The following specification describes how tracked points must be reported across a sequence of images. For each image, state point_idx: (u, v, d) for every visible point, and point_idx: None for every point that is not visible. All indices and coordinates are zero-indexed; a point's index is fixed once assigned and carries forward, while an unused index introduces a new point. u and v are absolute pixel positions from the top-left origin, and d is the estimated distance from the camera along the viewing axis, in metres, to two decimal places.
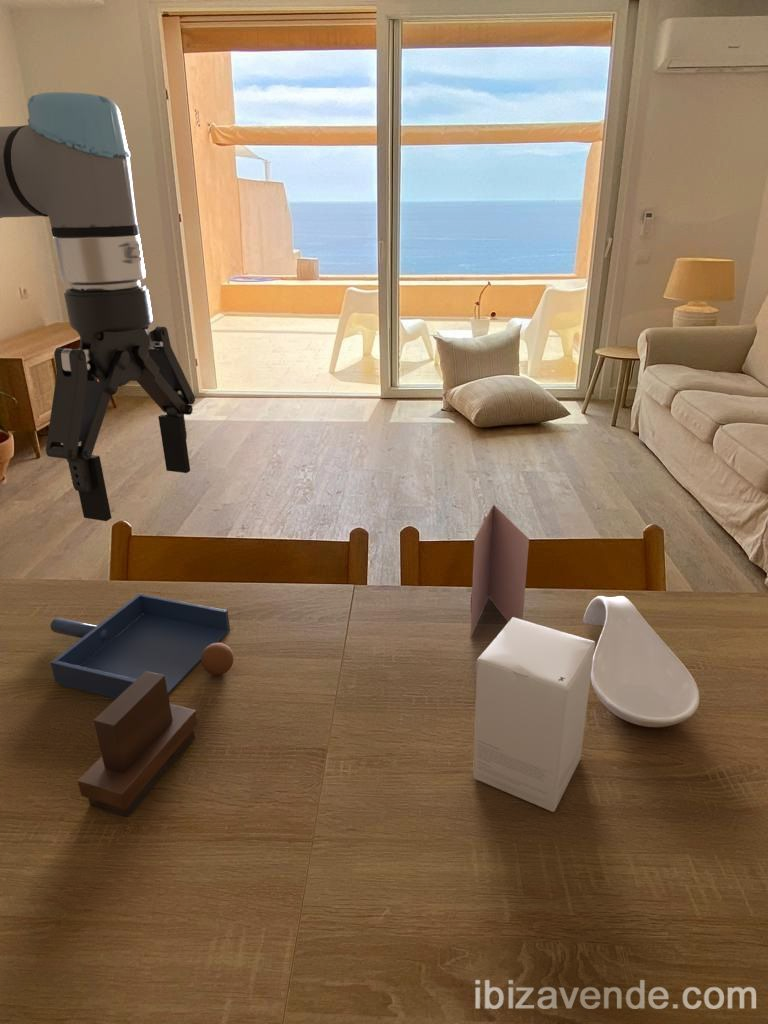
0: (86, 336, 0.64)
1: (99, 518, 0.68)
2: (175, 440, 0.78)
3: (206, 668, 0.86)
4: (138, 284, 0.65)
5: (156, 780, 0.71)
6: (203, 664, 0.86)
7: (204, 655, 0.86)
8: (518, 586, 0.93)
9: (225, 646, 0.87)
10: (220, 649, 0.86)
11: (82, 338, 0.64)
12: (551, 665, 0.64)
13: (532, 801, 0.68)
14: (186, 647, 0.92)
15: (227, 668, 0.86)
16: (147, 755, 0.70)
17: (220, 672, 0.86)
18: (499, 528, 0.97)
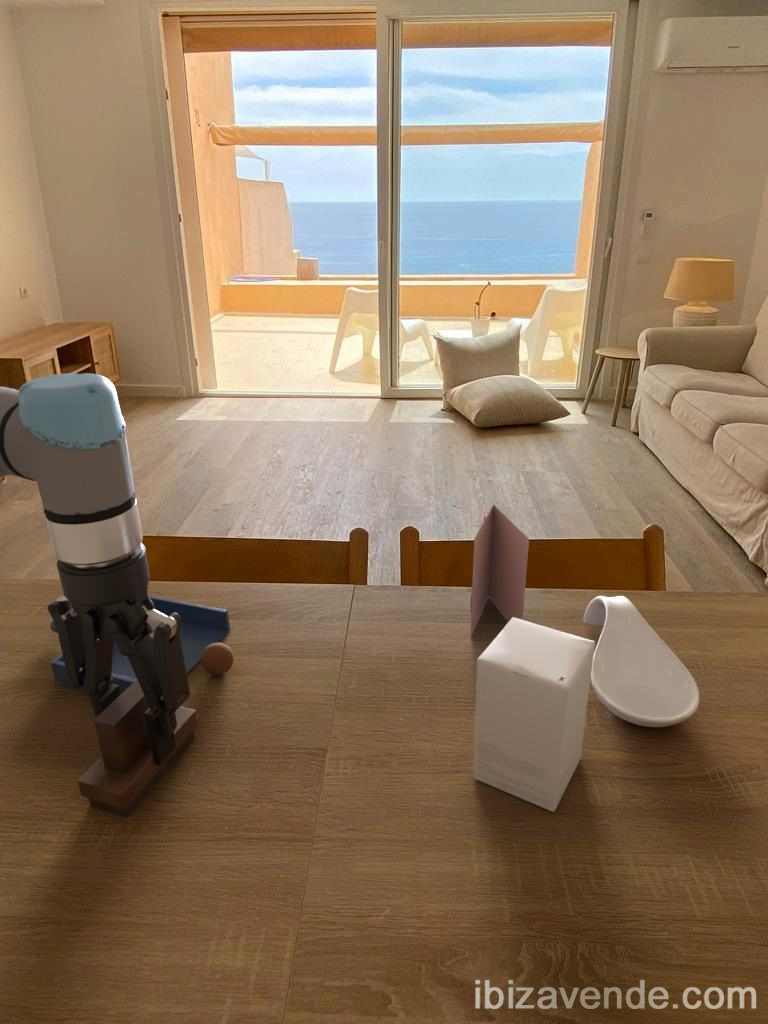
0: (142, 596, 0.63)
1: (171, 751, 0.71)
2: None
3: (206, 668, 0.86)
4: None
5: (156, 780, 0.71)
6: (203, 664, 0.86)
7: (204, 655, 0.86)
8: (518, 586, 0.93)
9: (225, 646, 0.87)
10: (220, 649, 0.86)
11: (139, 601, 0.63)
12: (551, 665, 0.64)
13: (532, 801, 0.68)
14: (186, 647, 0.92)
15: (227, 668, 0.86)
16: (147, 755, 0.70)
17: (220, 672, 0.86)
18: (499, 528, 0.97)
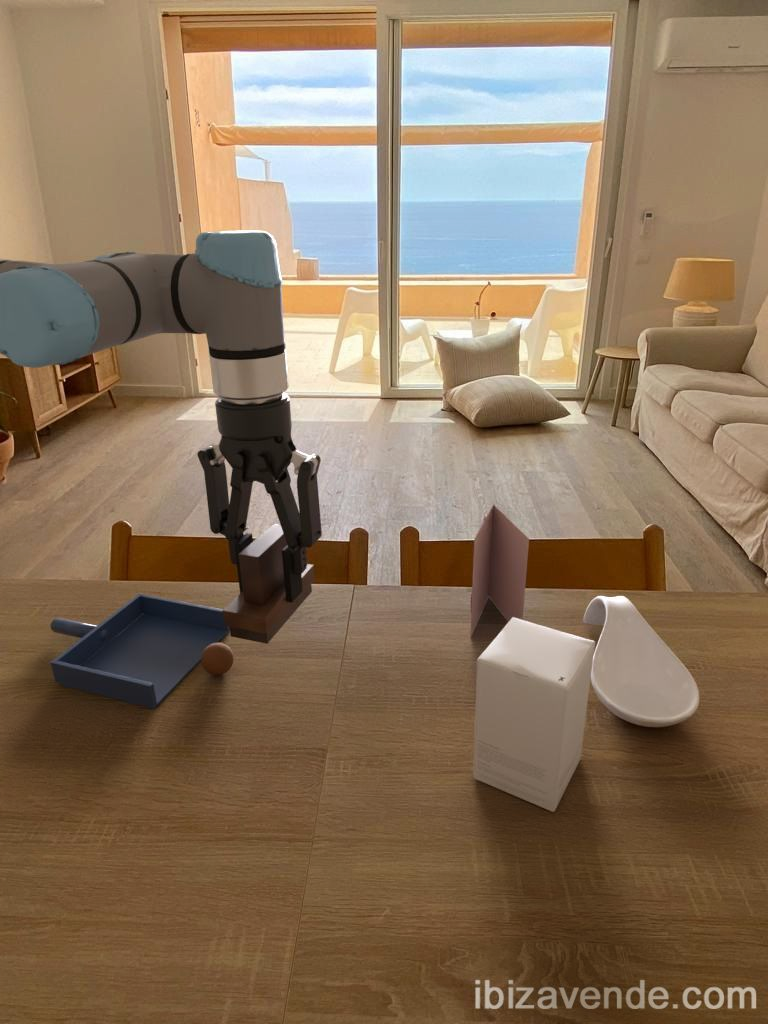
0: (288, 436, 0.71)
1: (299, 592, 0.79)
2: None
3: (206, 668, 0.86)
4: None
5: (286, 618, 0.79)
6: (203, 664, 0.86)
7: (204, 655, 0.86)
8: (518, 586, 0.93)
9: (225, 646, 0.87)
10: (220, 649, 0.86)
11: (286, 440, 0.71)
12: (551, 665, 0.64)
13: (532, 801, 0.68)
14: (186, 647, 0.92)
15: (227, 668, 0.86)
16: (280, 594, 0.78)
17: (220, 672, 0.86)
18: (499, 528, 0.97)
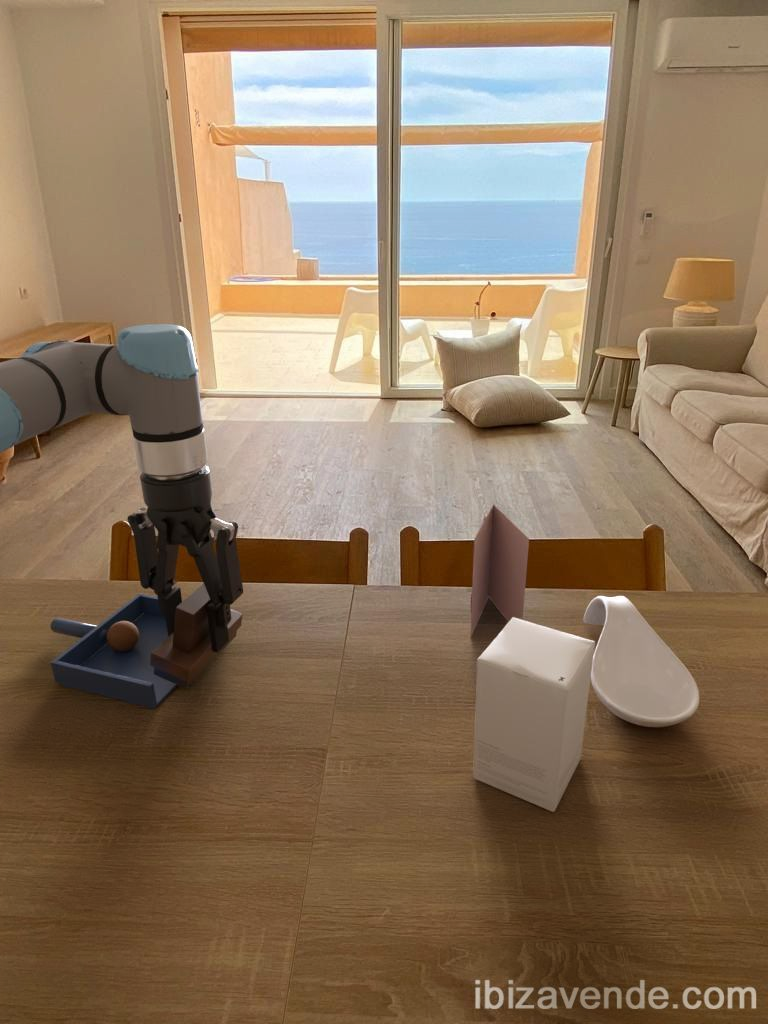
0: (207, 506, 0.78)
1: (225, 642, 0.86)
2: None
3: (111, 645, 0.90)
4: None
5: (207, 664, 0.87)
6: (108, 641, 0.90)
7: (108, 632, 0.90)
8: (518, 586, 0.93)
9: (129, 623, 0.91)
10: (123, 626, 0.90)
11: (205, 509, 0.78)
12: (551, 665, 0.64)
13: (532, 801, 0.68)
14: None
15: (131, 644, 0.91)
16: (206, 643, 0.85)
17: (124, 648, 0.90)
18: (499, 528, 0.97)
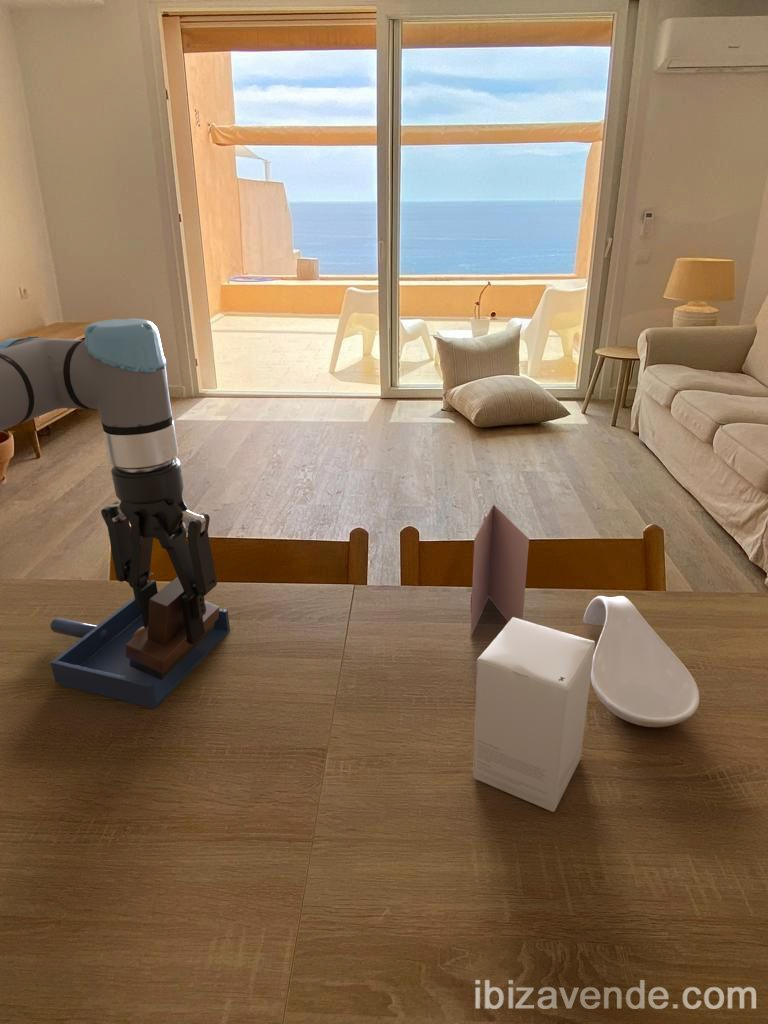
0: (178, 498, 0.79)
1: (201, 634, 0.87)
2: None
3: None
4: None
5: (183, 656, 0.87)
6: None
7: None
8: (518, 586, 0.93)
9: None
10: None
11: (176, 502, 0.79)
12: (551, 665, 0.64)
13: (532, 801, 0.68)
14: None
15: None
16: (182, 635, 0.86)
17: None
18: (499, 528, 0.97)
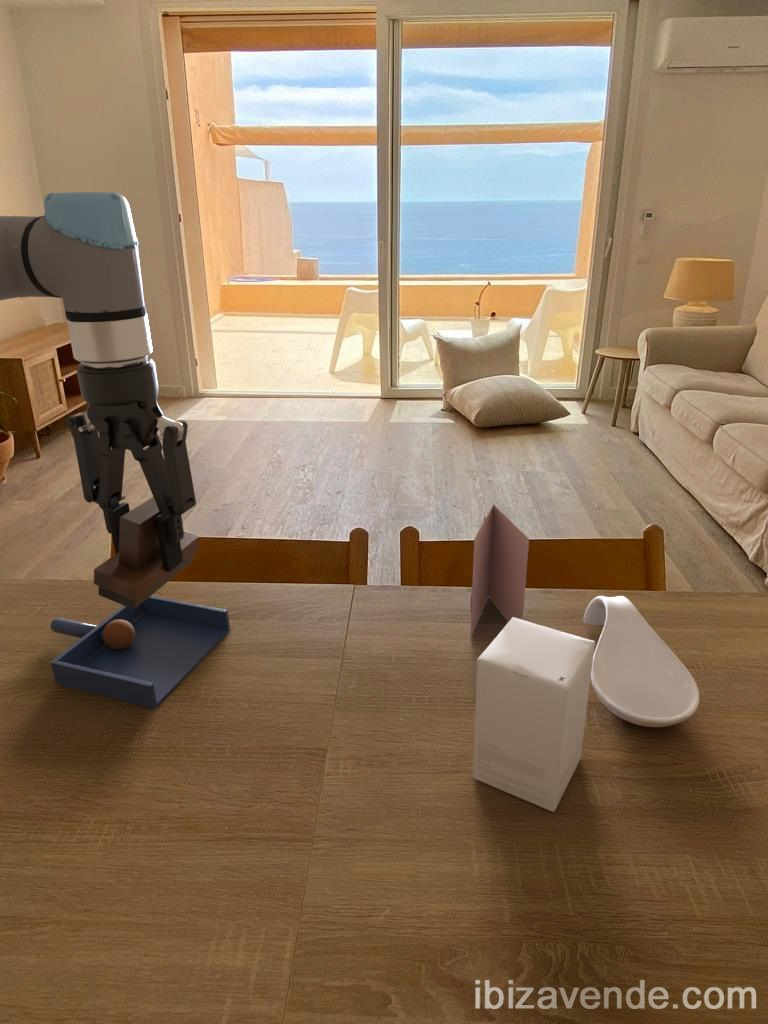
0: (152, 402, 0.71)
1: (178, 562, 0.79)
2: None
3: (107, 644, 0.91)
4: None
5: (159, 586, 0.79)
6: (104, 641, 0.91)
7: (103, 633, 0.91)
8: (518, 586, 0.93)
9: (121, 620, 0.92)
10: (114, 623, 0.91)
11: (150, 405, 0.70)
12: (551, 665, 0.64)
13: (532, 801, 0.68)
14: (186, 647, 0.92)
15: (126, 638, 0.91)
16: (157, 561, 0.78)
17: (120, 643, 0.90)
18: (499, 528, 0.97)
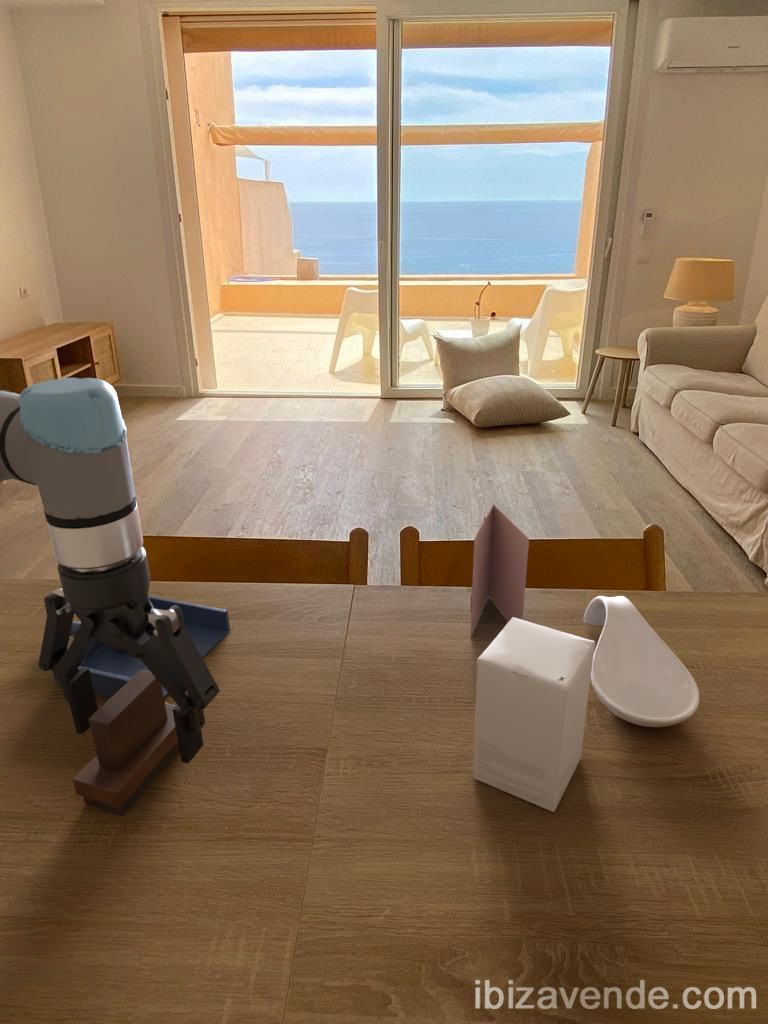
0: (143, 599, 0.63)
1: (198, 748, 0.70)
2: (87, 694, 0.72)
3: None
4: None
5: (151, 779, 0.71)
6: None
7: None
8: (518, 586, 0.93)
9: None
10: None
11: (140, 604, 0.63)
12: (551, 665, 0.64)
13: (532, 801, 0.68)
14: None
15: None
16: (142, 754, 0.70)
17: None
18: (499, 528, 0.97)
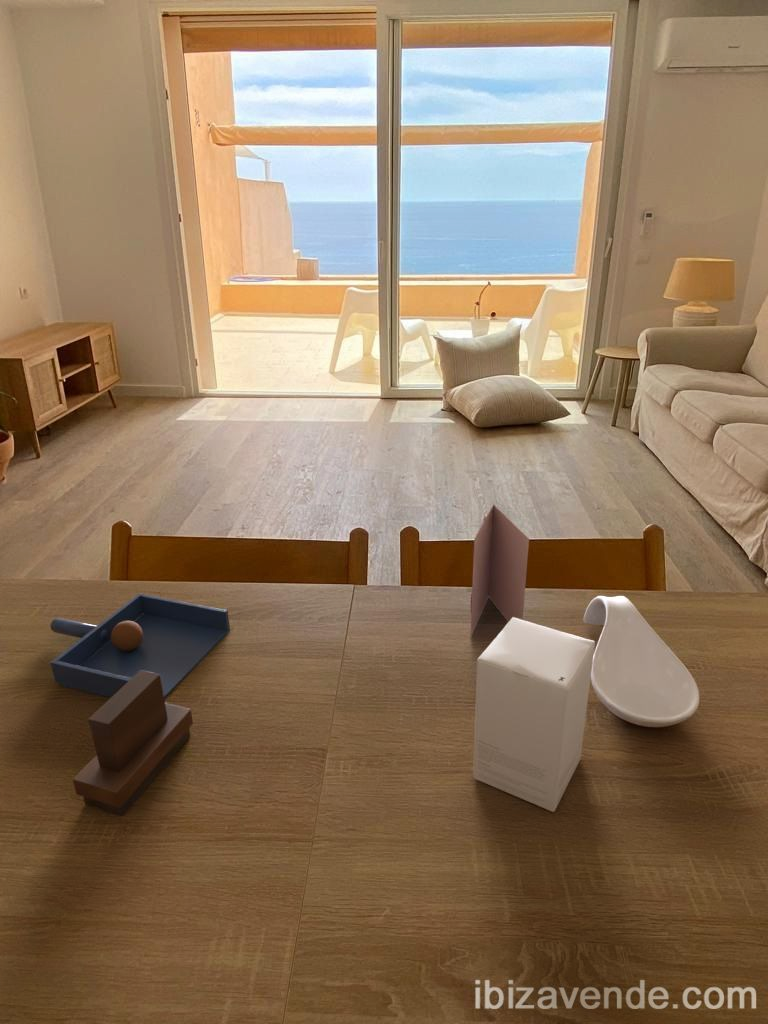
0: None
1: None
2: None
3: (114, 643, 0.90)
4: None
5: (151, 779, 0.71)
6: (112, 638, 0.90)
7: (114, 630, 0.90)
8: (518, 586, 0.93)
9: (136, 625, 0.91)
10: (130, 628, 0.90)
11: None
12: (551, 665, 0.64)
13: (532, 801, 0.68)
14: (186, 647, 0.92)
15: (134, 646, 0.91)
16: (142, 754, 0.70)
17: (126, 649, 0.90)
18: (499, 528, 0.97)
